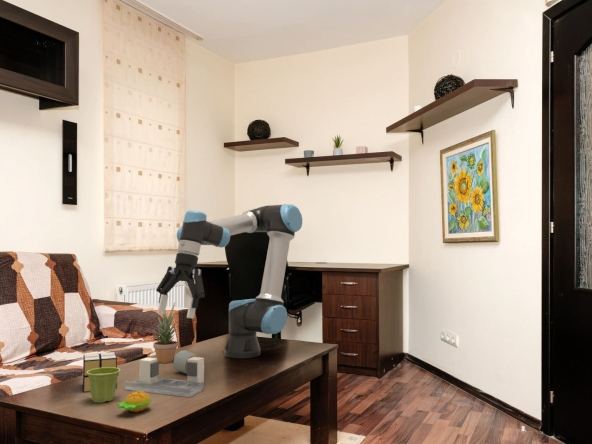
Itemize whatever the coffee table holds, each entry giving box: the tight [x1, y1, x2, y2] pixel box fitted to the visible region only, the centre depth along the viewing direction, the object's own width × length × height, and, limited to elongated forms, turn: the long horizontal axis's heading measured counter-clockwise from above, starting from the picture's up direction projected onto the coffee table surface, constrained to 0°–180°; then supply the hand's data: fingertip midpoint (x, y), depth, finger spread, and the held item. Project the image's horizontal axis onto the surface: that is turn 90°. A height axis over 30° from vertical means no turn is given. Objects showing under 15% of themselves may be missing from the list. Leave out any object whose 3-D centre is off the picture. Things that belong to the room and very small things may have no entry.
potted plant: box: [152, 302, 179, 364], centre depth 202 cm, size 10×10×25 cm
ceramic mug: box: [173, 349, 206, 375], centre depth 184 cm, size 11×8×8 cm
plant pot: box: [87, 367, 121, 403], centre depth 151 cm, size 9×9×9 cm
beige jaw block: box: [186, 357, 205, 383], centre depth 170 cm, size 4×5×8 cm
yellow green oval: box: [116, 391, 152, 413], centre depth 140 cm, size 7×10×5 cm
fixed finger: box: [138, 357, 160, 384], centre depth 163 cm, size 4×5×8 cm
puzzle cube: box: [82, 351, 118, 393], centre depth 165 cm, size 10×10×10 cm
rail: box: [124, 377, 204, 398], centre depth 161 cm, size 8×24×2 cm, turn 70°
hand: (175, 315), depth 170 cm, fingers open, 13 cm apart
